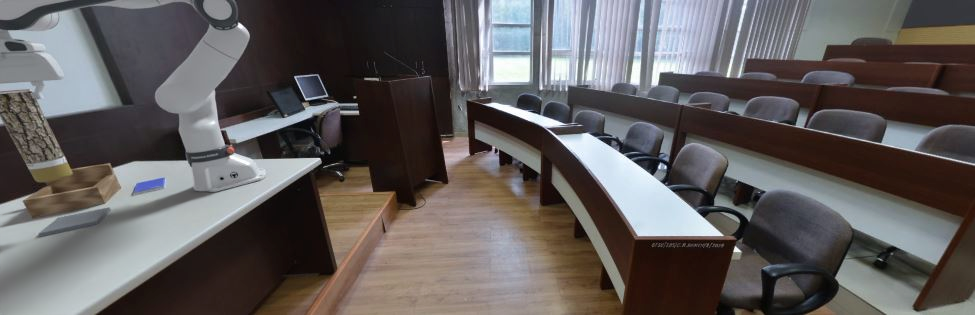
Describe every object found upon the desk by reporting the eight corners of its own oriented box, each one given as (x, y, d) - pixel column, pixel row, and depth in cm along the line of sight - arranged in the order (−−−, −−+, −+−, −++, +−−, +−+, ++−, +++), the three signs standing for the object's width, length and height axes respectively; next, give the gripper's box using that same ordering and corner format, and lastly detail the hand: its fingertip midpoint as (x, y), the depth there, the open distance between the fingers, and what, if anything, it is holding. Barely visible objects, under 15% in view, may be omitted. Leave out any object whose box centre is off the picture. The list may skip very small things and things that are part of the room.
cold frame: (121, 187, 123) (110, 163, 119) (105, 203, 110) (92, 176, 107) (57, 199, 114) (43, 173, 111) (32, 217, 102) (15, 189, 98)
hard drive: (163, 185, 120) (164, 177, 129) (132, 192, 115) (135, 183, 124) (165, 189, 121) (166, 180, 130) (134, 196, 116) (137, 186, 124)
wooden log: (45, 183, 89) (-4, 92, 81) (29, 182, 91) (-20, 92, 82) (79, 174, 95) (37, 88, 87) (64, 173, 97) (21, 89, 89)
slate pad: (110, 209, 105) (109, 207, 105) (97, 224, 96) (95, 221, 96) (59, 220, 99) (58, 217, 99) (40, 236, 91) (38, 233, 90)
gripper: (-99, 47, 73) (-61, 108, 78) (40, 44, 84) (66, 97, 88) (-76, 47, 78) (-42, 104, 83) (53, 44, 89) (76, 95, 93)
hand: (15, 101), depth 86 cm, fingers closed on wooden log, 7 cm apart
